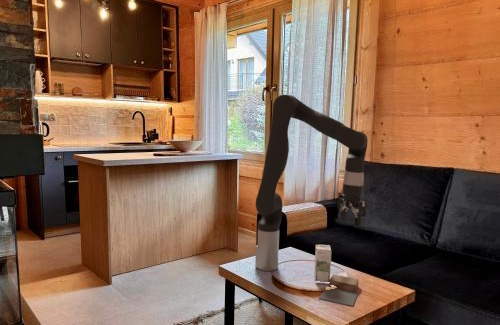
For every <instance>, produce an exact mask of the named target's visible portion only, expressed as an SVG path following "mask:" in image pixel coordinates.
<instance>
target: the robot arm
mask: <svg viewBox="0 0 500 325" xmlns="http://www.w3.org/2000/svg"><path fill="white" fill-rule="evenodd" d="M291 118H292V119H295V120H298V121H301V122H303V123H305V124H306V125H308V126H310V127H312V128H313V129H314V130H316V131H318V132H319V133H321V134H323V135H324V136H326V137H329V138H330V139H332V140H335V141H337V142H338V143H339V144H341V145H343V146H345V147H347V148H348V152H347V153H348V154H347V157H346V158H345V164H344V165H345V166H344V168H345V169H344V174H343V182H342V183H343V184H342V193H341V194H339V195H338V199H337V207H336V208H337V209H339V212H340V215H339V216H340V218H339V219H340V221H341V222H345V221H347V213H348V212H347V210H349V209H350V210H351V212H352V213H353V214H354V221H353V222H354V224H353V226H354V227H355V228H361V221H362V218H366V216H367V215H366V214H367V201H365V200H361V197H362V196H363V194H364V180H365V158H366V154H367V148H368V136H367V134H365V133H364V132H363V131H361V130H360V131H359V130H355V129H353V128H351V127H348V126H346V125H345V124H344V123H343V122H341V121H339V120H337V119H334V118H333V117H330V116H328V115H326V114H324V113H322V112H319V111H316V110H315V109H313V108H311V107H309V106H308V105H306V104H305V103H303V102H302V101H301V100H299V99H298V98H296V96H294V95H291V94H285V93H283V94H280V95H278V96H277V97H276V98H275V99H274V100H273V104H272V116H271V125H270V131H269V132H270V133H269V137H268V142H267V146H266V151H265V158H264V166H263V170H262V173H261V174H262V176H261V179H260V180H261V182H260V185H259V188H258V193H257V196H256V199H255V209H256V211H257V213H258V214H259V215H260V216H261V219H260V220H259V222H258V224H257V245H256V246H255V264H254V265H255V267H254V268H256V269H258V270H260V271H265V272H274V271H276V270H278V269H277V268H279V248H280V247H279V246H280V245H279V244H280V225H281V223H282V216H283V200H282V197H281V195H280V194H279V193H277V192H276V191H277V187H278V183H279V181H280V179H281V177H282V176H283V173H284V171H285V169H286V167H287V162H288V158H289V154H290V153H289V152H290V143H289V128H290V127H289V126H290V122H291ZM275 269H276V270H275ZM273 270H274V271H273Z"/></svg>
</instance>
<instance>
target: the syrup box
mask: <svg viewBox="0 0 500 325" xmlns="http://www.w3.org/2000/svg"><path fill="white" fill-rule="evenodd" d="M314 254H315V255H314V256H315V257H314V270H313V271H314V277H315V279H314V282H315V281H320V282H330V279H331V266H332V265H331V264H332V249H331V245H329V244H328V245H326V244H315V253H314ZM314 277H313V278H314Z"/></svg>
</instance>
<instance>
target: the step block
mask: <svg viewBox="0 0 500 325" xmlns="http://www.w3.org/2000/svg"><path fill="white" fill-rule="evenodd" d="M359 280H360V279H358V278H354V277H349V276H344V275H339V274H334V273H333V274H332V275H331V276H330V283H329V284H330V285H334V286H336V287H337V289H342V290H347V291H351V292H356V293H357V291H358V288H359ZM329 284H328V285H329Z"/></svg>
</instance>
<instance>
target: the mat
mask: <svg viewBox="0 0 500 325" xmlns="http://www.w3.org/2000/svg"><path fill="white" fill-rule="evenodd" d="M358 296H359V292H357V291H356V292H351V291H347V290H342V289H337V288H335V289H330V290H324V289H323V291H322V293H321V294H320V296H319V297H318V299H319V300H321V301H327V302H331V303H335V304H340V305H344V306H348V307H354V304H355V302H356V300H357V298H358Z"/></svg>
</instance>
